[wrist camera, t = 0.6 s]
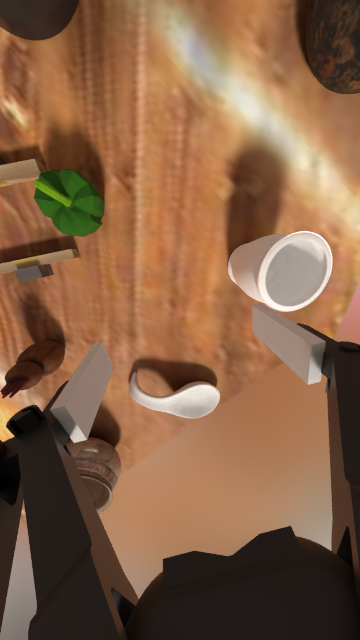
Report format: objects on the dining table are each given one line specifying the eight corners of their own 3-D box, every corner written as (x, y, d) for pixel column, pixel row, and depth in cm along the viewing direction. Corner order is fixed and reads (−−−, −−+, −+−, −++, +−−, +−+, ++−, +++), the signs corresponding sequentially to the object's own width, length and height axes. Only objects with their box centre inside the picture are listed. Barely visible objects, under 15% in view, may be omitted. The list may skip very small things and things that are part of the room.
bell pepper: (121, 218, 32) (106, 206, 23) (87, 246, 33) (60, 246, 24) (86, 169, 29) (52, 134, 20) (50, 202, 30) (2, 183, 21)
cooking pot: (113, 474, 59) (102, 528, 48) (50, 467, 55) (22, 524, 43) (136, 421, 51) (129, 471, 40) (65, 408, 47) (35, 459, 35)
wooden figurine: (68, 337, 40) (19, 385, 26) (71, 359, 42) (27, 414, 28) (34, 335, 39) (-35, 384, 25) (39, 358, 41) (-23, 415, 27)
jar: (214, 252, 36) (249, 254, 22) (262, 227, 35) (329, 215, 21) (231, 297, 40) (269, 324, 26) (275, 277, 39) (337, 293, 26)
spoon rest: (222, 378, 49) (232, 399, 42) (206, 409, 53) (213, 433, 46) (136, 359, 44) (132, 379, 37) (125, 395, 48) (120, 419, 41)
